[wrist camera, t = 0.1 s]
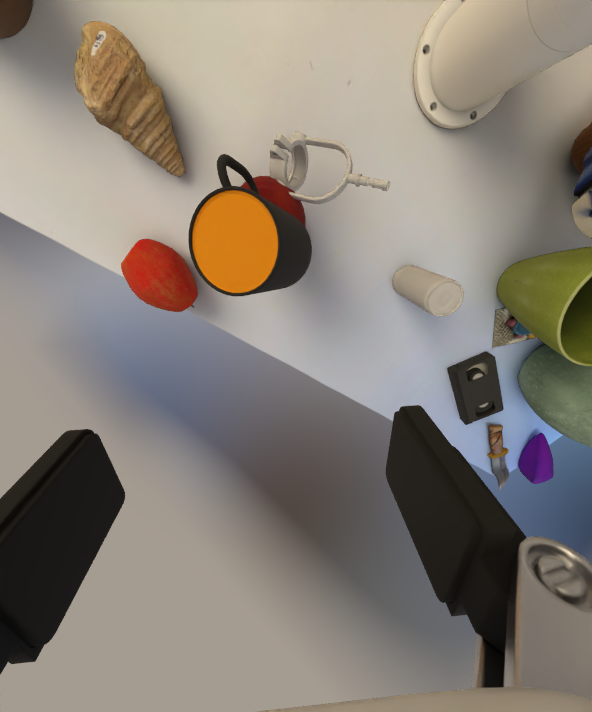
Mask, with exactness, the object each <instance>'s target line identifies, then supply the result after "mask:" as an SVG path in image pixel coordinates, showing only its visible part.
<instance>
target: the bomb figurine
mask: <svg viewBox="0 0 592 712" xmlns="http://www.w3.org/2000/svg"><path fill="white" fill-rule="evenodd" d="M535 337H536V336H534V335H533V334H532V333H531V332H530V331H528V330H527V329H526V328H525V327H524V326H523V325H522V324H521V323H520V322H519V321H518V320H517V319H516V318H515V317H514V316H513V315H512V314H511V313H510V312H509V311H508V310H507V308H503V309H498V310H495V328H494V340H493V347H497V346H502V345H507V344H511V343H516V342H520V341H524V340H528V339H533V338H535Z"/></svg>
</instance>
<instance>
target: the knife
mask: <svg viewBox="0 0 592 712" xmlns="http://www.w3.org/2000/svg"><path fill="white" fill-rule="evenodd" d="M488 428H489V442H490V448H491V453H490V454H488V456H489V457H490V458H491V460H492V473H493V474H494V475H495V476H496V477H497V480H498V484H499V490H500V489H501V488H502V487H503V486H504V485H505V483H506V481H507V479H508V476H509V471H508V469H507V467H506V463H505V454H507V452H508V449H507V448H504V449H503V438H502V429H503V426H502V425H489V426H488Z"/></svg>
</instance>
